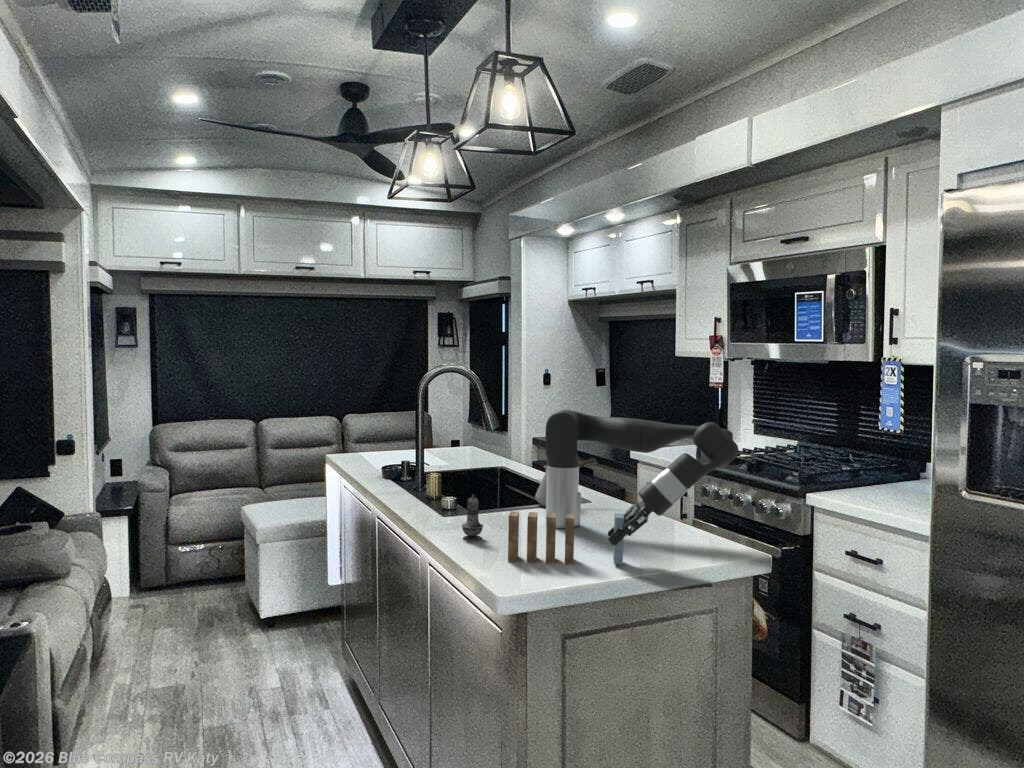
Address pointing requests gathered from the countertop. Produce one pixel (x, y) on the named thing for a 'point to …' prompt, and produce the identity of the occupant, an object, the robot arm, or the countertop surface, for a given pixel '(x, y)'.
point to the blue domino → (619, 546)
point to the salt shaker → (472, 521)
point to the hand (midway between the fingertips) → (610, 539)
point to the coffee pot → (542, 488)
